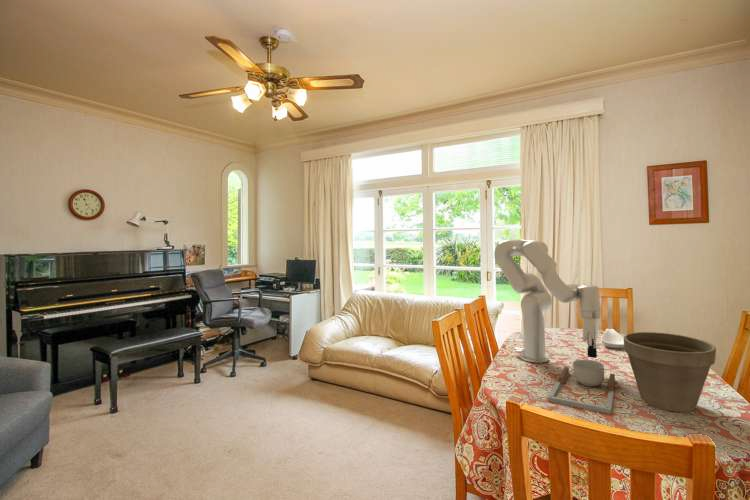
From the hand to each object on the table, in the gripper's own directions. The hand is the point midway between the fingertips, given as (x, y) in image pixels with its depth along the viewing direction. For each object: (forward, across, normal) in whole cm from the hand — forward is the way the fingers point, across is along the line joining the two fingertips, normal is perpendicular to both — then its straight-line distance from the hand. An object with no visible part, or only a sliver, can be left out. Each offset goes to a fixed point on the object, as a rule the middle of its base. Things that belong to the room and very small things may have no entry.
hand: (592, 356), depth 159 cm
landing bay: (+7, +32, -1) cm, 33 cm away
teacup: (+7, +14, -1) cm, 15 cm away
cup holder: (+6, +14, -1) cm, 15 cm away
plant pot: (+8, +22, +24) cm, 33 cm away
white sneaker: (+7, -53, +4) cm, 53 cm away
